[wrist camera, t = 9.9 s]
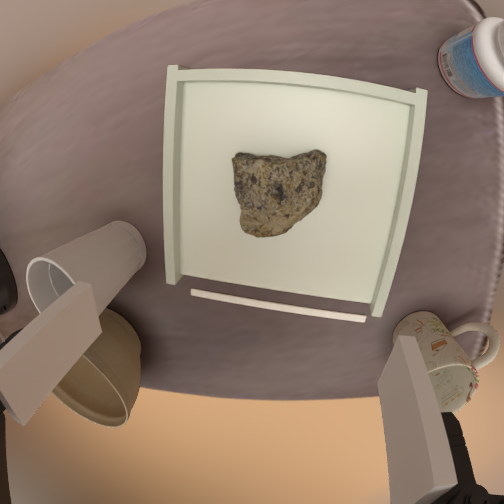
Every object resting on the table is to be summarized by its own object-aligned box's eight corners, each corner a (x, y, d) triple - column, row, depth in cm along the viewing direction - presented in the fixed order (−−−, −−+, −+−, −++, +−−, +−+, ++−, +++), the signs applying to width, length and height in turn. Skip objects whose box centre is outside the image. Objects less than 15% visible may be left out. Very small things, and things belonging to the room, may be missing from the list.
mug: (373, 319, 31) (387, 387, 22) (475, 273, 27) (518, 328, 18) (391, 368, 33) (403, 433, 24) (482, 329, 29) (513, 385, 20)
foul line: (191, 294, 34) (191, 295, 34) (191, 288, 34) (190, 288, 33) (364, 321, 31) (364, 322, 31) (366, 315, 31) (366, 316, 31)
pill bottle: (484, 109, 20) (557, 112, 10) (431, 82, 21) (494, 64, 11) (492, 56, 18) (561, 39, 8) (440, 27, 18) (497, -10, 8)
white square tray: (175, 272, 33) (166, 283, 31) (179, 69, 25) (167, 65, 22) (377, 303, 30) (381, 317, 28) (418, 93, 21) (427, 90, 19)
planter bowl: (61, 271, 37) (9, 311, 28) (160, 302, 35) (114, 361, 26) (81, 355, 44) (45, 397, 34) (166, 388, 42) (136, 443, 32)
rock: (326, 229, 27) (328, 249, 23) (240, 229, 29) (227, 247, 25) (326, 149, 24) (328, 153, 20) (234, 151, 26) (218, 156, 22)
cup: (86, 242, 34) (18, 288, 23) (118, 198, 31) (39, 238, 20) (129, 289, 36) (71, 349, 25) (166, 252, 32) (103, 313, 22)
